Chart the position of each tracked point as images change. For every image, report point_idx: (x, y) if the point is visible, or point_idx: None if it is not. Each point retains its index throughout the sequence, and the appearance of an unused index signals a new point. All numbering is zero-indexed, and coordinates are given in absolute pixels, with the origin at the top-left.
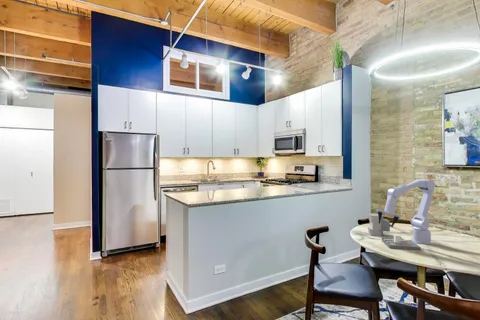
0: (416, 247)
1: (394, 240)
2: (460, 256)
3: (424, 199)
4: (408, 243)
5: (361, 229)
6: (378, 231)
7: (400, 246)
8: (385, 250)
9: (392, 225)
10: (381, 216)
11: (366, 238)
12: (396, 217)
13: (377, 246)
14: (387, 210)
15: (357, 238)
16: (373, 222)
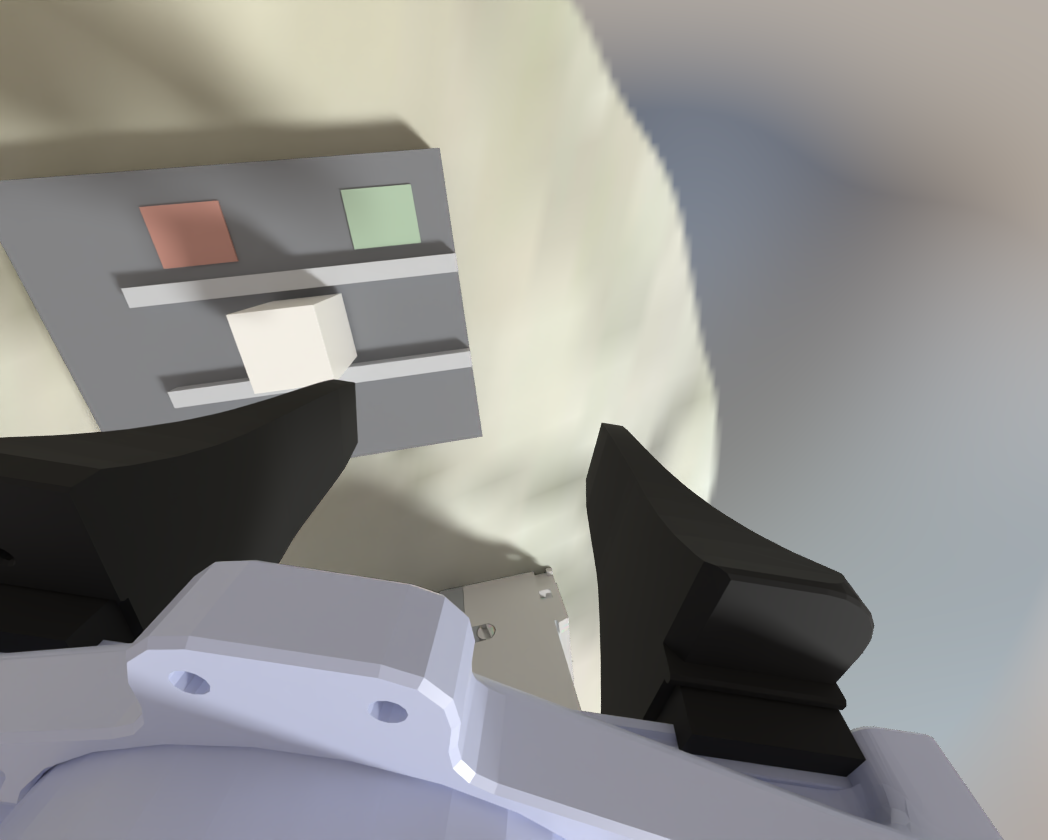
0: (44, 177)
1: (347, 333)
2: None
3: None
4: (156, 284)
5: (597, 698)
6: (489, 619)
7: (287, 160)
8: (507, 16)
9: (322, 390)
10: (659, 514)
11: None
12: (30, 592)
13: (573, 182)
14: None
15: (711, 416)
16: (570, 705)
